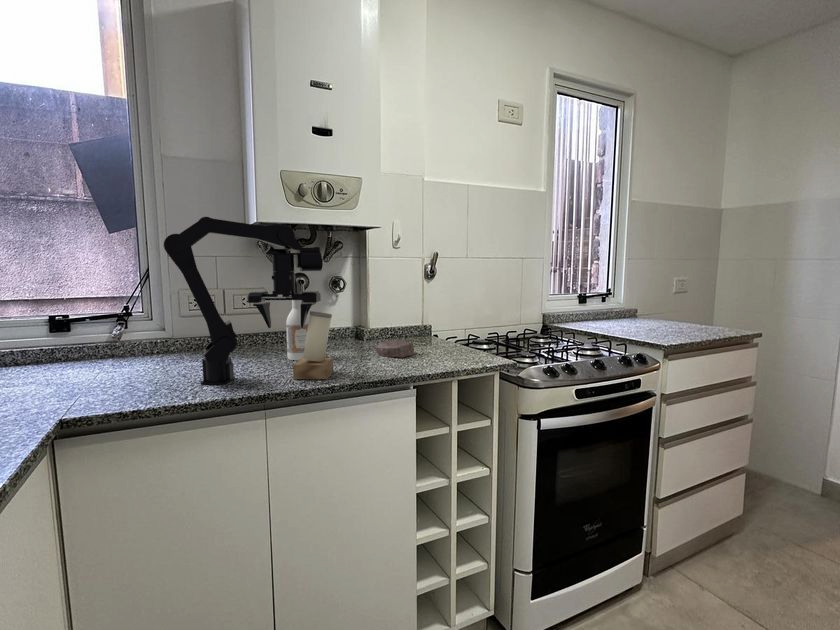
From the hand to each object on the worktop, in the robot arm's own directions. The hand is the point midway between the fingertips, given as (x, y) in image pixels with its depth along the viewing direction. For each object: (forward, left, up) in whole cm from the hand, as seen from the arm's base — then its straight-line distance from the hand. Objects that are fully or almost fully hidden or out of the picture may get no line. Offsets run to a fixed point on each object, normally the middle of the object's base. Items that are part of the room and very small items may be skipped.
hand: (286, 327), depth 122 cm
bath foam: (-2, +19, -13) cm, 23 cm away
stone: (+29, +25, -14) cm, 40 cm away
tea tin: (+8, -2, -9) cm, 12 cm away
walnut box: (+8, -2, -13) cm, 15 cm away
